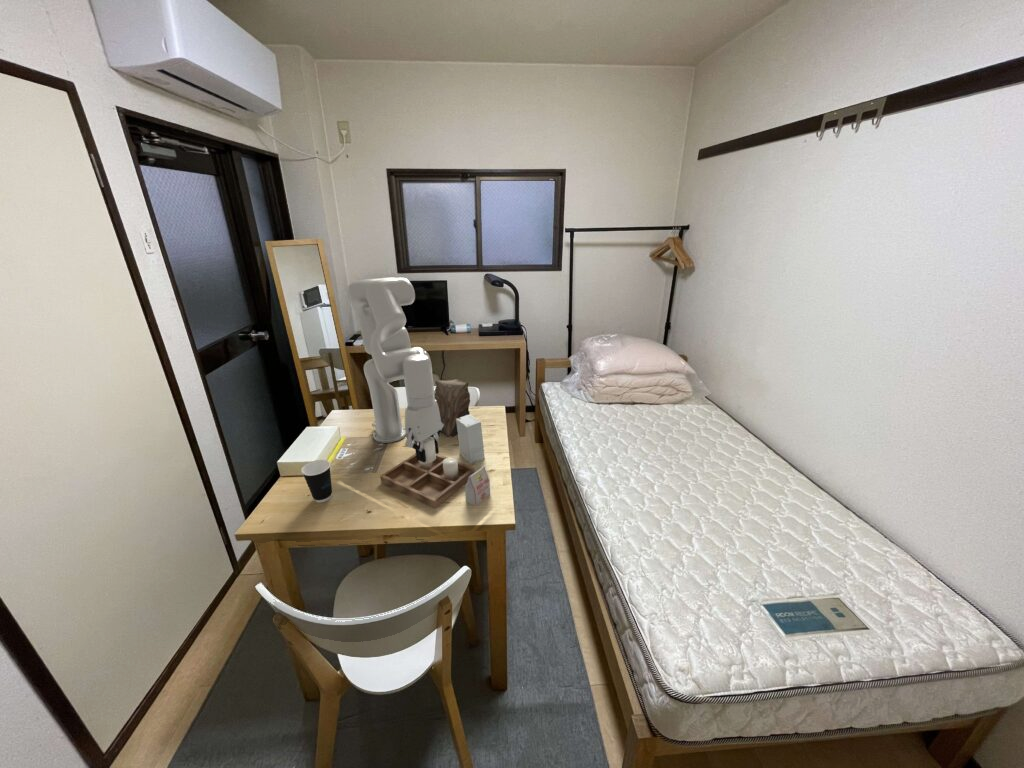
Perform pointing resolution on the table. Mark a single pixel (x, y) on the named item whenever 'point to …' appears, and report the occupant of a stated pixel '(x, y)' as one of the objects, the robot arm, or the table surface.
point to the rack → (425, 480)
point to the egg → (429, 449)
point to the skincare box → (470, 438)
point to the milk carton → (477, 487)
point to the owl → (452, 403)
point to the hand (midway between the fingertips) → (427, 455)
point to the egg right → (450, 468)
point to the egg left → (426, 465)
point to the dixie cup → (318, 479)
